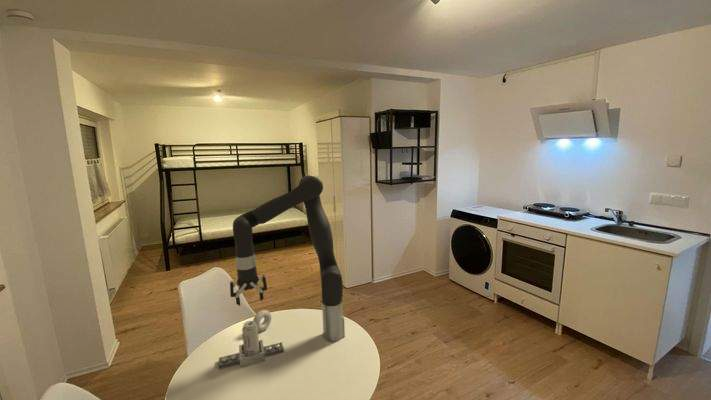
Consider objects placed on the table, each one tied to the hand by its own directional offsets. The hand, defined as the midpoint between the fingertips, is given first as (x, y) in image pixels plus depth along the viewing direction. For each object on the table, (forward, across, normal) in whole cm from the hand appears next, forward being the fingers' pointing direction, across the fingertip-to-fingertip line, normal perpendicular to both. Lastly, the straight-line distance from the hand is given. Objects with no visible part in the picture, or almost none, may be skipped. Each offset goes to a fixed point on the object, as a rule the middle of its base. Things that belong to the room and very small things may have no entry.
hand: (250, 302), depth 127 cm
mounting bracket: (+24, +2, +1) cm, 24 cm away
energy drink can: (+24, +1, +1) cm, 24 cm away
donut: (+24, -5, -17) cm, 30 cm away
